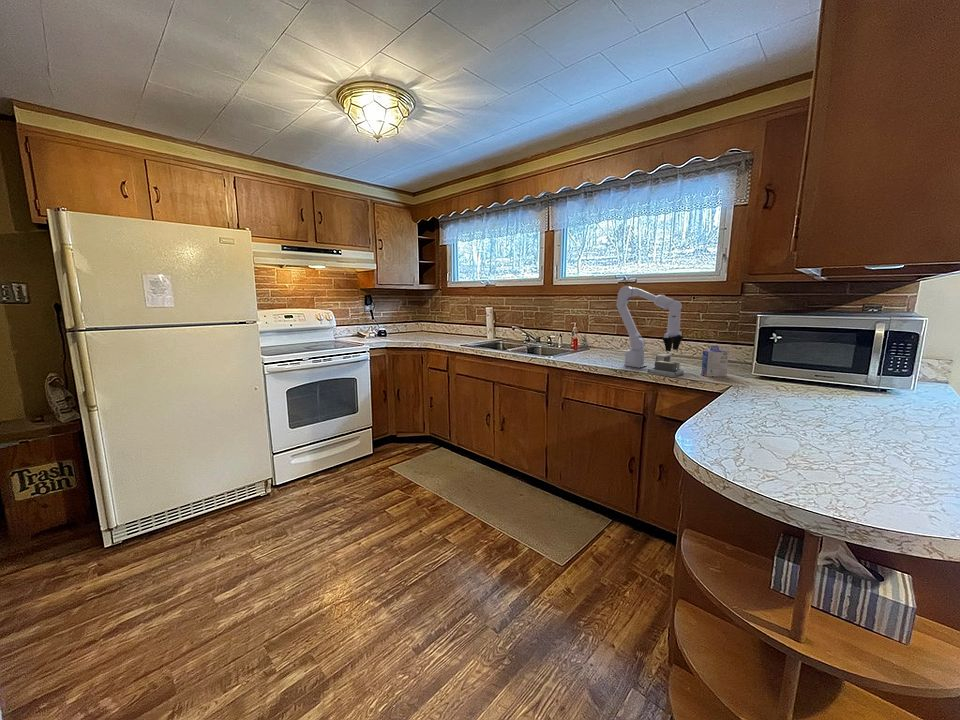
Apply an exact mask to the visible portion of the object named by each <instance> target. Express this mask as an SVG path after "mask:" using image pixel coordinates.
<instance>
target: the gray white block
mask: <svg viewBox="0 0 960 720" xmlns="http://www.w3.org/2000/svg"><path fill="white" fill-rule="evenodd" d="M673 362H674V361H672V362H666V361H656V360H655V361H654V366H653V367H654V369H655V370H662V371H668V372H676V365H677V363H673Z"/></svg>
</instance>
